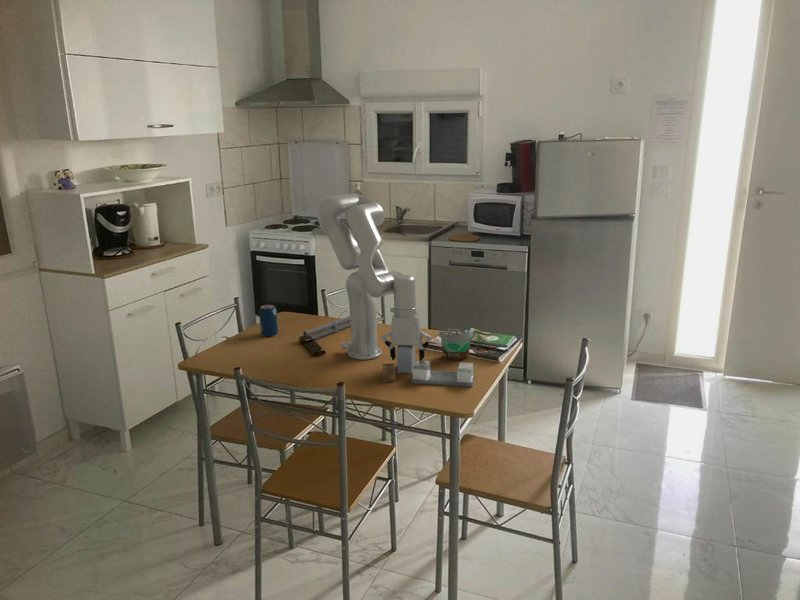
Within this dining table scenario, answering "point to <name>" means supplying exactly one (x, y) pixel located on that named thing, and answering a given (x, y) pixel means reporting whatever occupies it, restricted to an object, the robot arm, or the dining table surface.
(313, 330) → the metal rod assembly
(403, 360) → the grey-blue module block
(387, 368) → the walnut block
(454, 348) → the food container
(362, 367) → the dining table surface
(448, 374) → the rail
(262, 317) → the soda can
